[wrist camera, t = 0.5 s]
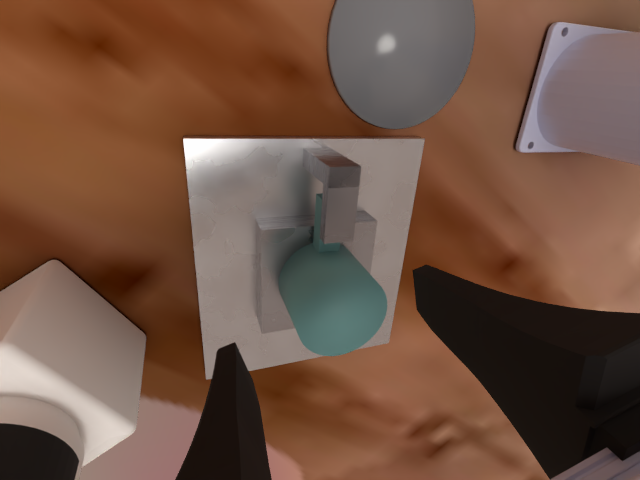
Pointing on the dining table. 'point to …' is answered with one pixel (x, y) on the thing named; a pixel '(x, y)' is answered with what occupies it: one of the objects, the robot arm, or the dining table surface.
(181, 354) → the dining table surface
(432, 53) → the coaster
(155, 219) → the dining table surface
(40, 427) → the medicine bottle
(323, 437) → the dining table surface
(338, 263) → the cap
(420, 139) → the post base
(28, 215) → the dining table surface
